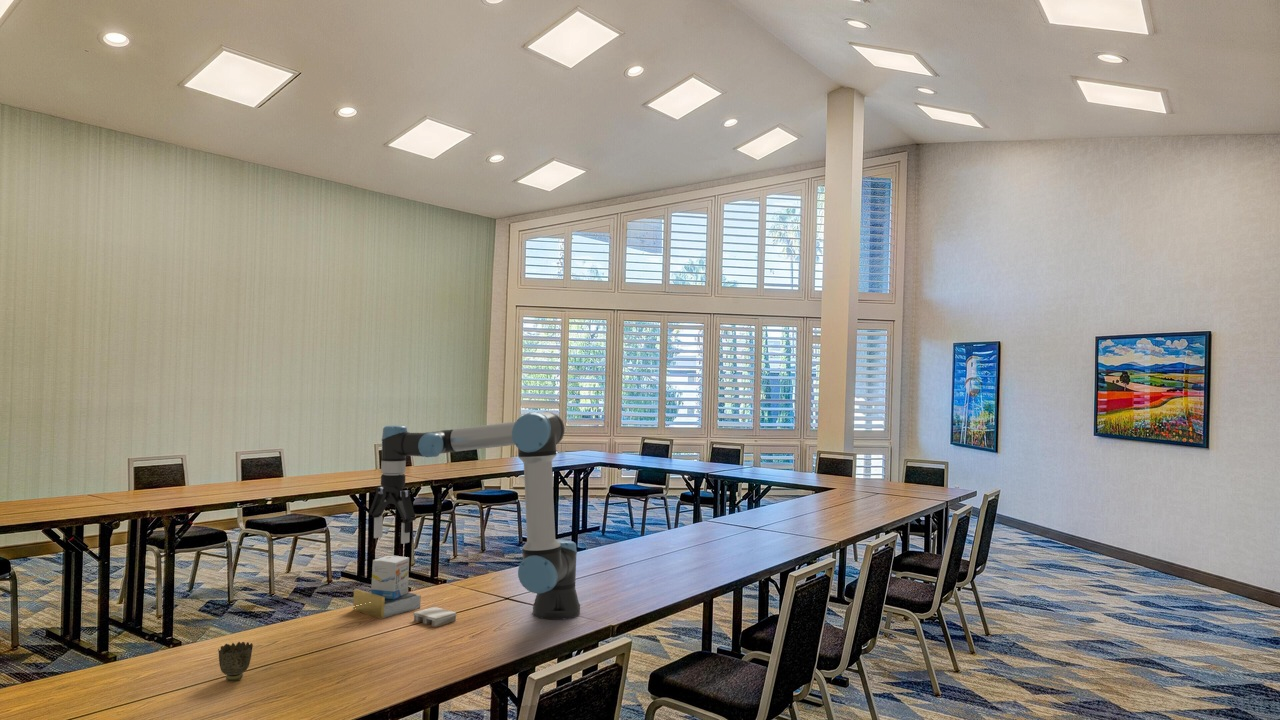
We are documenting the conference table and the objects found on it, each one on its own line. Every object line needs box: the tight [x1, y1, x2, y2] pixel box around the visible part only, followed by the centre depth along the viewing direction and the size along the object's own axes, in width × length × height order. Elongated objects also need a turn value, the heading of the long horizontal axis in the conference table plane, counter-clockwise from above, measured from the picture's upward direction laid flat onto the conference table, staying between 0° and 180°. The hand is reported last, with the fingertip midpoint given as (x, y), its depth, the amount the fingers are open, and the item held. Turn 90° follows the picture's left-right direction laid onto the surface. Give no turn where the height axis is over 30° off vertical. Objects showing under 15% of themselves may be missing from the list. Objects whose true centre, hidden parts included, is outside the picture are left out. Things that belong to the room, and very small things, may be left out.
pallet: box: [413, 606, 457, 628], centre depth 237 cm, size 10×8×2 cm
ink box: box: [370, 555, 410, 599], centre depth 248 cm, size 9×8×12 cm
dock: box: [352, 588, 422, 619], centre depth 247 cm, size 14×15×6 cm
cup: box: [217, 641, 254, 682], centre depth 187 cm, size 8×7×8 cm
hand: (391, 540), depth 248 cm, fingers open, 13 cm apart
